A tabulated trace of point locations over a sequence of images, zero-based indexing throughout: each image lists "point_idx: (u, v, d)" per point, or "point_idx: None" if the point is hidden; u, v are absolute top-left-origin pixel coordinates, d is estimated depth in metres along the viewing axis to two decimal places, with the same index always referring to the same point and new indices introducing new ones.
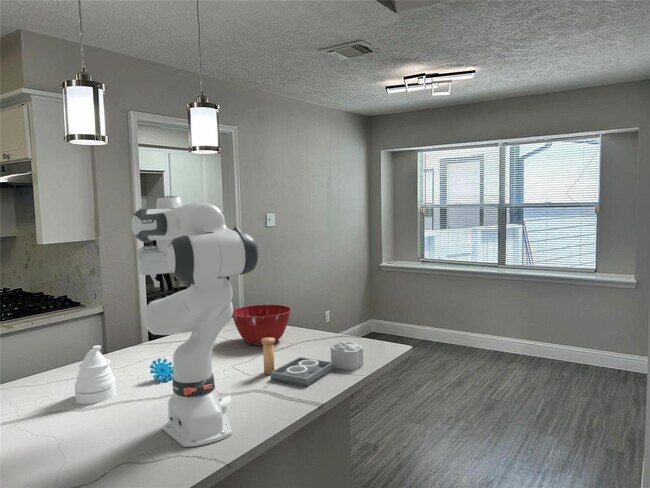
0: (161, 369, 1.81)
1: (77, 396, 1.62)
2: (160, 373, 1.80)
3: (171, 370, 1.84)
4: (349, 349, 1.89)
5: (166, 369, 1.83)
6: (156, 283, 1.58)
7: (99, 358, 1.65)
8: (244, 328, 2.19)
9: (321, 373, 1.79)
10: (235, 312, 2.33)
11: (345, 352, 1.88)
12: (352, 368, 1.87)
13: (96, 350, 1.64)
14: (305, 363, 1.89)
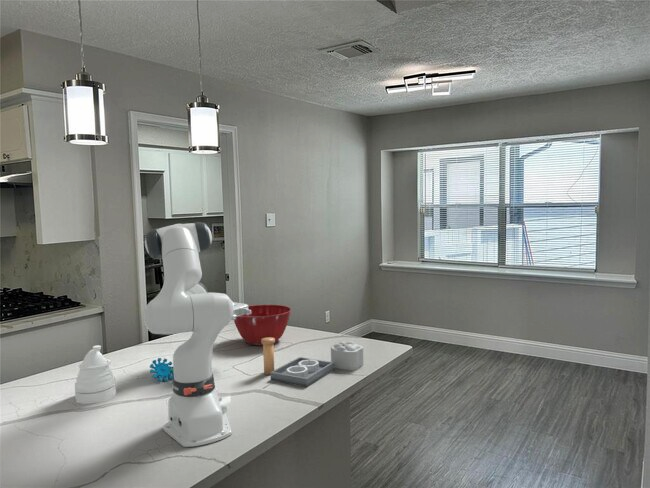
0: (161, 369, 1.81)
1: (77, 396, 1.62)
2: (160, 373, 1.80)
3: (171, 370, 1.84)
4: (349, 349, 1.89)
5: (166, 369, 1.83)
6: None
7: (99, 358, 1.65)
8: (244, 328, 2.19)
9: (321, 373, 1.79)
10: None
11: (345, 352, 1.88)
12: (352, 368, 1.87)
13: (96, 350, 1.64)
14: (305, 363, 1.89)
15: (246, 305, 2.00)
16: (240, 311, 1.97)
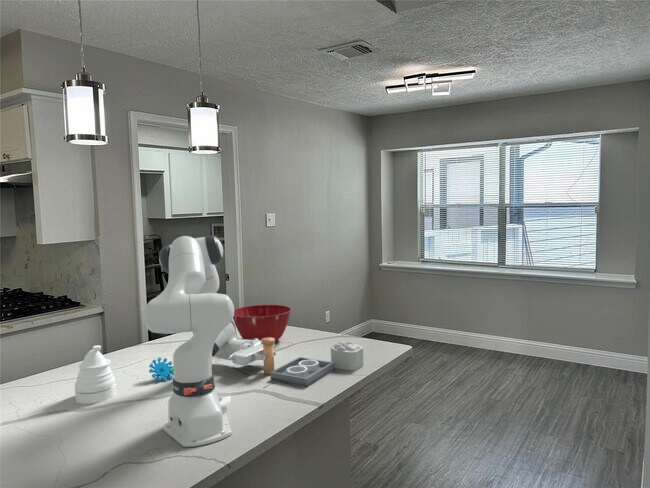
0: (160, 368, 1.82)
1: (77, 396, 1.62)
2: (159, 372, 1.80)
3: (170, 370, 1.84)
4: (349, 349, 1.88)
5: (165, 369, 1.83)
6: (262, 355, 1.83)
7: (99, 358, 1.65)
8: (244, 328, 2.19)
9: (321, 373, 1.79)
10: (235, 312, 2.33)
11: (345, 352, 1.87)
12: (352, 368, 1.87)
13: (96, 350, 1.64)
14: (305, 363, 1.89)
15: (273, 344, 1.95)
16: None
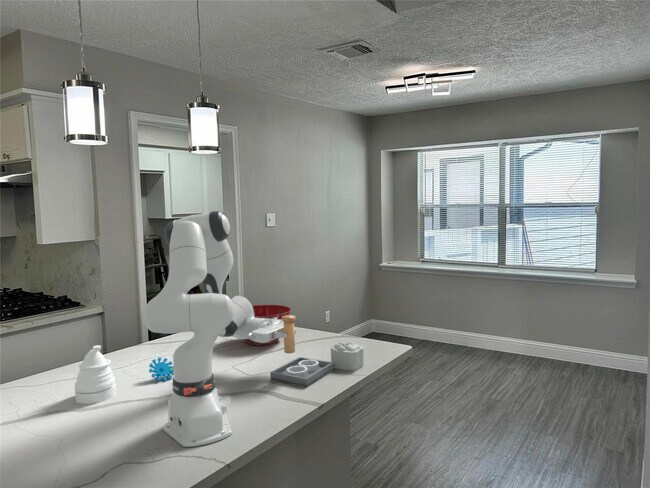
0: (160, 368, 1.82)
1: (77, 396, 1.62)
2: (159, 372, 1.81)
3: (170, 370, 1.84)
4: (350, 349, 1.88)
5: (165, 368, 1.83)
6: (283, 332, 1.77)
7: (99, 358, 1.65)
8: None
9: (321, 373, 1.79)
10: None
11: (346, 353, 1.87)
12: (353, 368, 1.87)
13: (96, 350, 1.64)
14: (305, 363, 1.89)
15: None
16: (283, 330, 1.84)
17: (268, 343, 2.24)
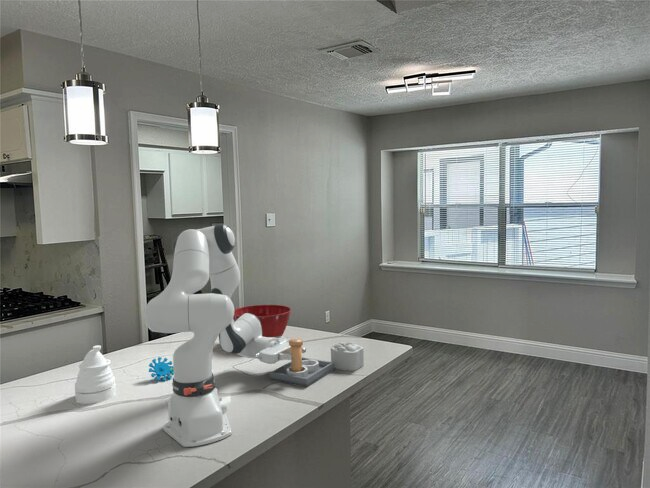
0: (160, 368, 1.82)
1: (77, 396, 1.62)
2: (158, 372, 1.81)
3: (170, 370, 1.84)
4: (350, 350, 1.88)
5: (165, 368, 1.83)
6: (288, 354, 1.75)
7: (99, 358, 1.65)
8: None
9: (321, 373, 1.79)
10: (235, 312, 2.33)
11: (346, 353, 1.87)
12: (353, 369, 1.87)
13: (96, 350, 1.64)
14: (305, 363, 1.89)
15: None
16: None
17: None
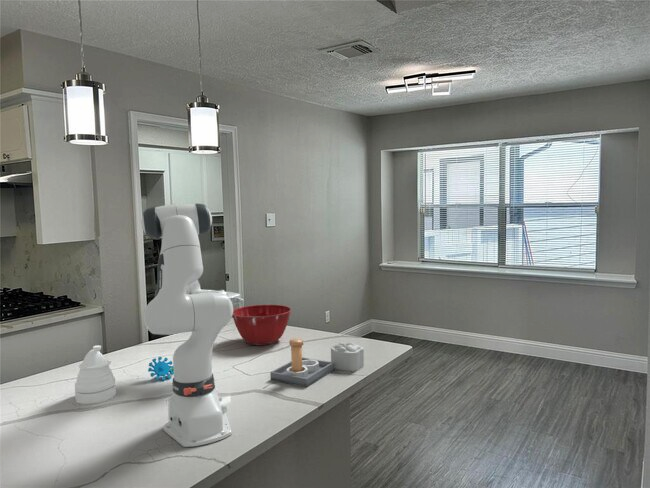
0: (159, 368, 1.83)
1: (77, 396, 1.62)
2: (157, 372, 1.81)
3: (170, 369, 1.84)
4: (350, 350, 1.87)
5: (165, 368, 1.84)
6: None
7: (99, 358, 1.65)
8: (244, 328, 2.19)
9: (321, 373, 1.79)
10: (235, 312, 2.33)
11: (346, 353, 1.86)
12: (353, 369, 1.86)
13: (96, 350, 1.64)
14: (305, 363, 1.89)
15: (238, 294, 1.91)
16: (232, 300, 1.88)
17: (268, 343, 2.24)
